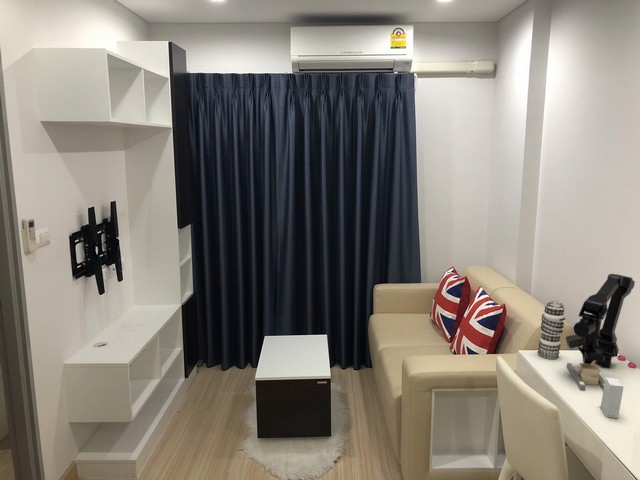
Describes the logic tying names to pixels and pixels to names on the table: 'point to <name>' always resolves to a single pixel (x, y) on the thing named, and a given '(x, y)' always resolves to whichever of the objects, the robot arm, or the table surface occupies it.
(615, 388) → the skincare box
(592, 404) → the table surface
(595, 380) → the block
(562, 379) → the table surface
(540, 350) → the banded tower model
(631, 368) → the table surface
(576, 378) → the chute
